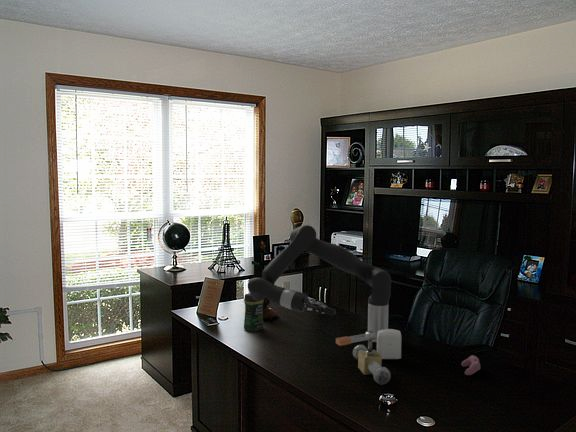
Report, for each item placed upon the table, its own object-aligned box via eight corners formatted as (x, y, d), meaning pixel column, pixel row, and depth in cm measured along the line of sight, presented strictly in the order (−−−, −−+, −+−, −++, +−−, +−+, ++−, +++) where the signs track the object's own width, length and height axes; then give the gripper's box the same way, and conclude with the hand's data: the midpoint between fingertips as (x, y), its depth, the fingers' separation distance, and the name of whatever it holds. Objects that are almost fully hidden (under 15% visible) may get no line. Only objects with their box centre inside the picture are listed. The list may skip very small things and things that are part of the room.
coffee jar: (252, 333, 232) (252, 295, 230) (241, 329, 237) (241, 293, 236) (266, 328, 239) (266, 292, 237) (255, 325, 245) (255, 289, 243)
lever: (371, 336, 192) (371, 330, 191) (376, 339, 188) (376, 333, 188) (335, 343, 184) (335, 336, 184) (340, 346, 181) (340, 339, 181)
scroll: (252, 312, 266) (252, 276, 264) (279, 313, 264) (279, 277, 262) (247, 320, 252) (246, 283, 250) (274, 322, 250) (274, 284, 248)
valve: (351, 360, 201) (352, 330, 199) (367, 358, 202) (368, 329, 201) (373, 385, 177) (374, 352, 176) (391, 383, 179) (392, 351, 177)
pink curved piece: (474, 380, 185) (484, 365, 184) (463, 374, 186) (473, 359, 185) (470, 369, 195) (479, 355, 194) (460, 364, 196) (468, 350, 194)
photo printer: (377, 359, 201) (378, 331, 200) (375, 355, 205) (376, 327, 204) (402, 360, 201) (402, 331, 200) (399, 356, 205) (400, 327, 204)
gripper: (289, 293, 185) (331, 306, 178) (301, 289, 197) (341, 300, 190) (285, 312, 185) (327, 325, 178) (298, 306, 197) (337, 319, 191)
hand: (334, 312), depth 184 cm, fingers closed
